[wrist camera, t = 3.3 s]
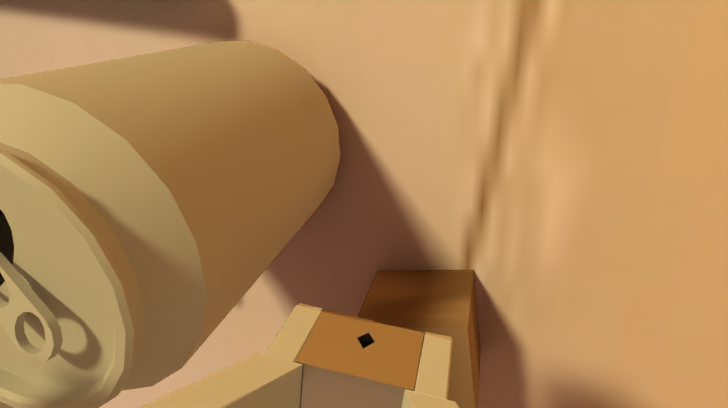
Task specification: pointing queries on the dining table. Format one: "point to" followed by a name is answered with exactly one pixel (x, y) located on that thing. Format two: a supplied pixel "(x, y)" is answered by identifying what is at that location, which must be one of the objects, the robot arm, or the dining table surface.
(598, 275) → the dining table surface
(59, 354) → the can
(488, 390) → the dining table surface
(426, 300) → the walnut block
